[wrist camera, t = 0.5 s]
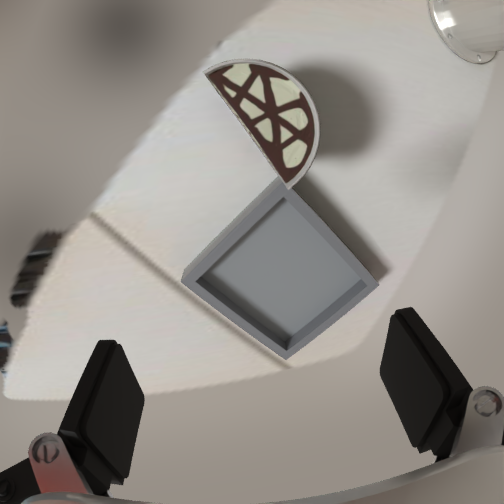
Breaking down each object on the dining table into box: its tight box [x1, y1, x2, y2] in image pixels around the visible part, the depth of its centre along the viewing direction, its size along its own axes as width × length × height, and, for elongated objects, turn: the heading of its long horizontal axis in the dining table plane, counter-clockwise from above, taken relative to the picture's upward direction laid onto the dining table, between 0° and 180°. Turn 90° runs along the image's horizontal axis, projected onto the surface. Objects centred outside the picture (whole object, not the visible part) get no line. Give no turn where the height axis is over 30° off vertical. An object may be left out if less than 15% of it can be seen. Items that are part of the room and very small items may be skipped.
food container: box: [203, 59, 321, 190], centre depth 27 cm, size 12×6×10 cm, turn 35°
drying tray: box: [181, 176, 379, 360], centre depth 38 cm, size 16×18×3 cm
